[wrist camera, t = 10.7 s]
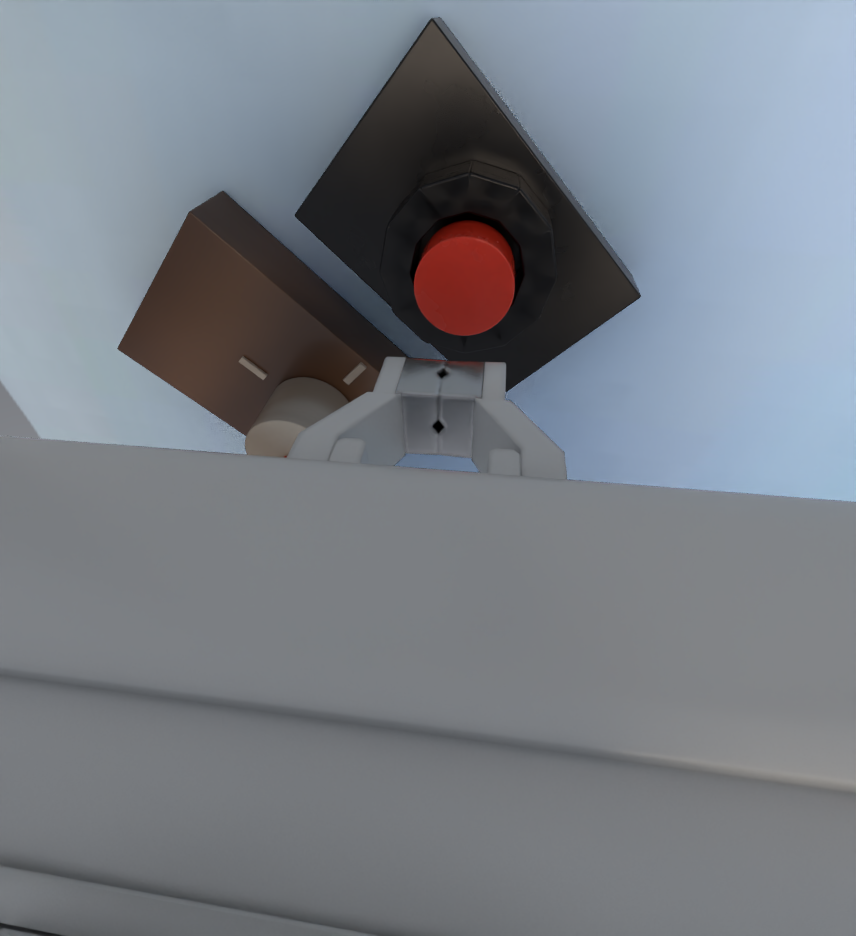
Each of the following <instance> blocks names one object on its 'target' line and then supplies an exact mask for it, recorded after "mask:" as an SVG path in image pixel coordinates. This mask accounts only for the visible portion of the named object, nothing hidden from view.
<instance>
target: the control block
mask: <svg viewBox="0 0 856 936" xmlns="http://www.w3.org/2000/svg"><path fill="white" fill-rule="evenodd" d="M295 217H296V218H297V219H298V220H299V221H300V222H301V223H302V224H304V225H305V226H306V227H307V228H308V229H309V230H310V231H311V232H312V233H313V234H314V235H315V236H316V237H317V238H318V239H320V240H321V241H322V242H323V243H324V244H325V245H326V246H327V247H328V248H329V249H330V250H331V251H332V252H333V253H334V254H336V255H337V256H338V257H339V258H340V259H341V260H342V261H343V262H344V263H345V264H346V265H347V266H348V267H349V268H350V269H352V270H353V271H354V272H355V273H356V274H357V275H358V276H359V277H360V278H361V279H362V280H363V281H364V282H365V283H366V284H368V285H369V286H370V287H371V288H372V289H373V290H374V291H375V292H376V293H377V294H378V295H379V296H380V297H381V298H382V299H384V300H385V301H386V302H387V303H388V304H389V305H390V306H391V307H392V310H393V312H394V313H395V315H396V316H397V317H398V318H399V319H400V320H401V321H402V322H404V323H405V324H406V325H407V326H408V327H409V328H410V329H411V330H412V331H413V332H414V333H415V334H416V335H417V336H419V337H420V338H421V339H422V340H423V341H425V342H426V343H430V344H432V345H433V346H434V347H435V348H436V349H437V350H438V351H439V352H440V353H441V354H442V355H443V356H444V357H445V358H446V359H448V360H449V361H467V362H505V363H506V389H505V392H507V391H508V390H510V389H511V388H513V387H514V386H515V385H517V384H518V383H520V382H521V381H522V380H524V379H525V378H527V377H528V376H530V375H531V374H532V373H534V372H535V371H537V370H538V369H539V368H541V367H542V366H544V365H545V364H547V363H548V362H549V361H551V360H552V359H554V358H555V357H556V356H558V355H559V354H561V353H562V352H564V351H565V350H566V349H568V348H569V347H571V346H572V345H573V344H575V343H576V342H578V341H579V340H581V339H582V338H583V337H585V336H586V335H588V334H589V333H590V332H592V331H593V330H595V329H596V328H598V327H599V326H600V325H602V324H603V323H605V322H606V321H608V320H609V319H610V318H612V317H613V316H615V315H616V314H617V313H619V312H620V311H622V310H623V309H625V308H626V307H627V306H629V305H630V304H632V303H633V302H634V301H636V300H637V299H639V298H640V297H641V295H640V292H639V290H638V288H637V286H636V283H635V281H634V279H633V277H632V275H631V273H630V272H629V270H628V269H627V268H626V266H625V265H624V264H623V262H622V261H621V260H620V258H619V257H618V256H617V254H616V253H615V252H614V250H613V249H612V248H611V246H610V245H609V244H608V242H607V241H606V239H605V238H604V237H603V235H602V234H601V233H600V231H599V230H598V229H597V227H596V226H595V225H594V223H593V222H592V221H591V219H590V218H589V217H588V215H587V214H586V213H585V211H584V210H583V208H582V207H581V206H580V204H579V203H578V202H577V200H576V199H575V198H574V196H573V195H572V194H571V192H570V191H569V190H568V188H567V187H566V186H565V184H564V183H563V182H562V180H561V179H560V178H559V176H558V175H557V173H556V172H555V171H554V169H553V168H552V167H551V165H550V164H549V163H548V161H547V160H546V159H545V157H544V156H543V155H542V153H541V152H540V151H539V149H538V148H537V147H536V145H535V144H534V142H533V141H532V140H531V138H530V137H529V136H528V134H527V133H526V132H525V130H524V129H523V128H522V126H521V125H520V124H519V122H518V121H517V120H516V118H515V117H514V116H513V114H512V113H511V111H510V110H509V109H508V107H507V106H506V105H505V103H504V102H503V101H502V99H501V98H500V97H499V95H498V94H497V93H496V91H495V90H494V89H493V87H492V86H491V85H490V83H489V82H488V80H487V79H486V78H485V76H484V75H483V74H482V72H481V71H480V70H479V68H478V67H477V66H476V64H475V63H474V62H473V60H472V59H471V58H470V56H469V55H468V54H467V52H466V51H465V49H464V48H463V47H462V45H461V44H460V43H459V41H458V40H457V39H456V37H455V36H454V35H453V33H452V32H451V31H450V29H449V28H448V27H447V25H446V24H445V23H444V21H443V20H442V18H440V17H437V18H431V19H430V20H429V22H428V23H427V25H426V26H425V28H424V29H423V30H422V32H421V33H420V35H419V36H418V38H417V39H416V41H415V42H414V43H413V45H412V46H411V48H410V49H409V51H408V52H407V54H406V55H405V56H404V58H403V59H402V61H401V62H400V64H399V65H398V67H397V68H396V69H395V71H394V72H393V74H392V75H391V77H390V78H389V79H388V81H387V82H386V84H385V85H384V87H383V88H382V90H381V91H380V92H379V94H378V95H377V97H376V98H375V100H374V101H373V103H372V104H371V105H370V107H369V108H368V110H367V111H366V113H365V114H364V116H363V117H362V118H361V120H360V121H359V123H358V124H357V126H356V127H355V129H354V130H353V131H352V133H351V134H350V136H349V137H348V139H347V140H346V141H345V143H344V144H343V146H342V147H341V149H340V150H339V152H338V153H337V154H336V156H335V157H334V159H333V160H332V162H331V163H330V165H329V166H328V167H327V169H326V170H325V172H324V173H323V175H322V176H321V178H320V179H319V180H318V182H317V183H316V185H315V186H314V188H313V189H312V191H311V192H310V193H309V195H308V196H307V198H306V199H305V201H304V202H303V203H302V205H301V206H300V208H299V209H298V211H297V212H296V214H295ZM464 220H471V221H478V222H482V223H485V224H487V225H489V226H491V227H493V228H494V229H496V230H497V231H498V232H499V233H500V234H501V235H502V236H503V237H504V238H505V239H506V241H507V242H508V244H509V246H510V248H511V250H512V253H513V257H514V262H515V292H514V298H513V301H512V304H511V306H510V308H509V310H508V312H507V313H506V315H505V316H504V317H503V318H502V320H501V321H500V322H498V323H497V324H496V325H495V326H493V327H492V328H490V329H488V330H487V331H484V332H482V333H479V334H475V335H468V336H461V335H454V334H450V333H447V332H444V331H442V330H440V329H438V328H437V327H435V326H434V325H433V324H432V323H430V322H429V321H428V320H427V319H426V317H425V316H424V315H423V313H422V312H421V310H420V308H419V307H418V304H417V302H416V298H415V294H414V278H415V273H416V270H417V267H418V264H419V261H420V259H421V256H422V254H423V251H424V249H425V247H426V245H427V243H428V241H429V240H430V239H431V237H432V236H433V235H434V234H435V233H436V232H437V231H439V230H440V229H441V228H443V227H445V226H447V225H448V224H451V223H454V222H458V221H464ZM484 367H485V364H484Z"/></svg>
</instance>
